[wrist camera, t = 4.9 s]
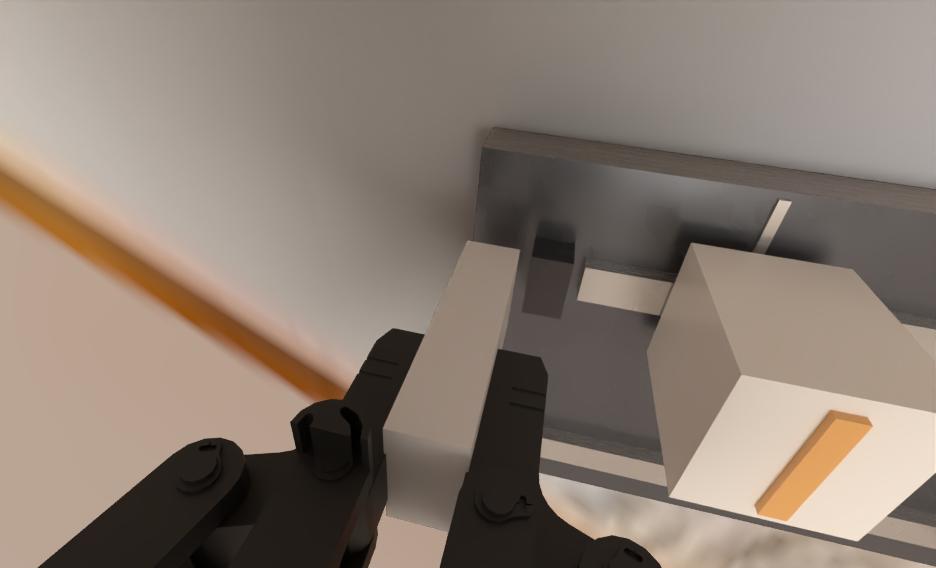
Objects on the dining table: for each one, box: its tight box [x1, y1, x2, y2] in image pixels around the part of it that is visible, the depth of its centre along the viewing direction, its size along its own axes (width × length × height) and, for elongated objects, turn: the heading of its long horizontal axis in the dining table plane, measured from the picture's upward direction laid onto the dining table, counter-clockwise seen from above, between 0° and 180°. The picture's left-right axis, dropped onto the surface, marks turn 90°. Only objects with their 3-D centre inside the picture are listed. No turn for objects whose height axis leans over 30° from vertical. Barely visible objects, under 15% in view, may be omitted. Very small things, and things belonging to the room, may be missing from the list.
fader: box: [647, 243, 936, 541], centre depth 11 cm, size 4×4×5 cm
